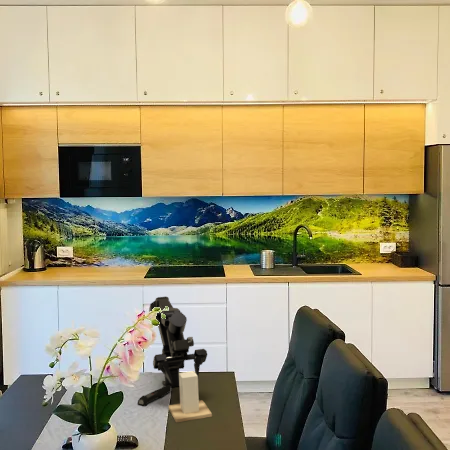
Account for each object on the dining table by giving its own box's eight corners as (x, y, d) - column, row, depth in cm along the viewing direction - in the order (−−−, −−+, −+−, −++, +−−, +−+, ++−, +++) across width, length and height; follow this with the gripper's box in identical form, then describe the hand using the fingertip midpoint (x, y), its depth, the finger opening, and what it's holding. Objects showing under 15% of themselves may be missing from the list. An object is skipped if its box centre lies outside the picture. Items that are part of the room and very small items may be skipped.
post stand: (168, 408, 186) (168, 395, 186) (202, 402, 190) (201, 390, 189) (176, 422, 175) (175, 408, 174) (211, 416, 178) (211, 403, 178)
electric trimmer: (173, 393, 201) (173, 385, 201) (144, 407, 188) (144, 398, 188) (166, 391, 203) (165, 383, 203) (136, 405, 190) (136, 396, 190)
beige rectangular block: (180, 407, 184) (178, 373, 183) (195, 405, 185) (193, 371, 184) (183, 413, 179) (182, 378, 178) (199, 411, 180) (197, 375, 179)
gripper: (153, 332, 188) (160, 374, 179) (205, 326, 194) (214, 366, 184) (150, 348, 196) (157, 388, 187) (200, 342, 202) (209, 381, 192)
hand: (184, 381), depth 187 cm, fingers open, 9 cm apart
